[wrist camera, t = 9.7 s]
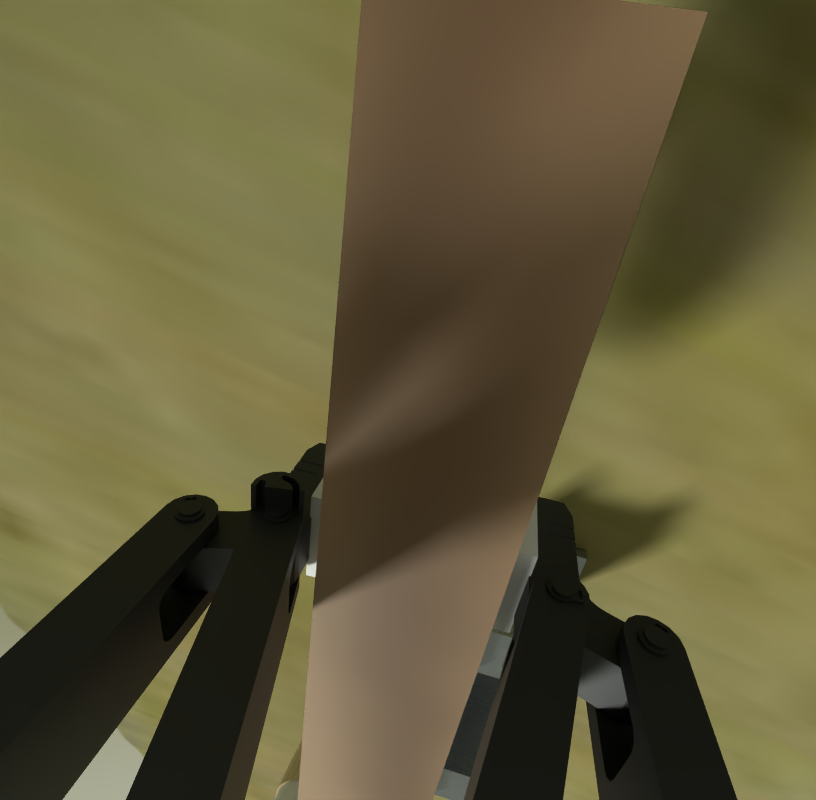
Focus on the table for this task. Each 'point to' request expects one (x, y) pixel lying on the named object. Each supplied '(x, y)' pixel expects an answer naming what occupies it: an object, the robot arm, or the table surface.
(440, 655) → the rail
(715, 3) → the table surface
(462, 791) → the standards
